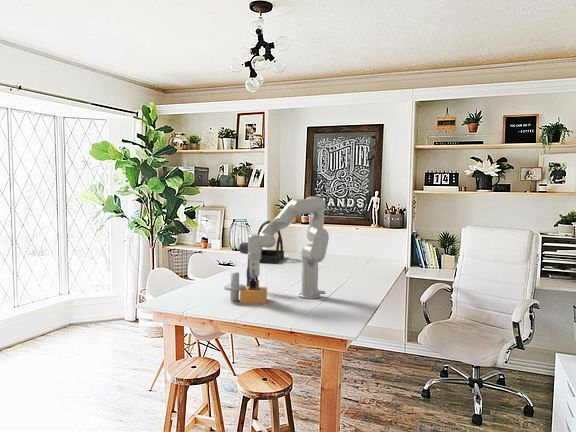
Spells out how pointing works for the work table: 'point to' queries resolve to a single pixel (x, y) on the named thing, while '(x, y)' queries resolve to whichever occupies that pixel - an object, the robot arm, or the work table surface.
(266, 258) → the basket
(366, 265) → the work table surface
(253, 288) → the tan wooden block
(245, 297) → the orange block with cylinder
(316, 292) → the robot arm
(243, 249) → the rubber mallet
